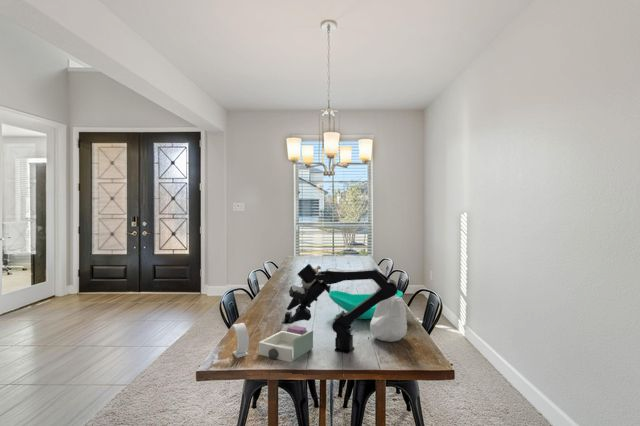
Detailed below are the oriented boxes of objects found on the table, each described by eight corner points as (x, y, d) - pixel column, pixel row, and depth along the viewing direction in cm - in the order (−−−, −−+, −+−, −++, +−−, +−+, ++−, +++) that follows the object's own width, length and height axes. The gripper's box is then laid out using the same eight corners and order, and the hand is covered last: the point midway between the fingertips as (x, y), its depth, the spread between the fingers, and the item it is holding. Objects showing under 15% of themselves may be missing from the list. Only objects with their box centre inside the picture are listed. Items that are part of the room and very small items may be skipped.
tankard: (312, 293, 262) (312, 270, 262) (297, 290, 269) (297, 268, 268) (328, 287, 279) (328, 266, 278) (313, 285, 286) (313, 264, 285)
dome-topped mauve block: (309, 338, 180) (309, 328, 179) (304, 341, 176) (304, 331, 176) (290, 333, 185) (290, 324, 185) (284, 336, 181) (284, 327, 181)
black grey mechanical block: (284, 318, 211) (284, 309, 211) (298, 318, 210) (298, 310, 210) (278, 325, 199) (278, 316, 199) (293, 326, 198) (293, 316, 198)
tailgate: (312, 348, 165) (313, 330, 165) (295, 359, 154) (295, 340, 153) (310, 347, 166) (310, 330, 165) (293, 358, 154) (293, 339, 154)
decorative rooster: (368, 331, 188) (368, 280, 187) (401, 331, 188) (401, 279, 187) (376, 352, 163) (376, 293, 162) (414, 352, 163) (414, 292, 162)
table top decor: (330, 326, 195) (330, 300, 195) (326, 310, 223) (326, 287, 222) (409, 325, 198) (410, 298, 197) (395, 309, 225) (395, 286, 225)
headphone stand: (243, 351, 164) (243, 322, 164) (249, 356, 159) (248, 326, 159) (232, 353, 162) (232, 324, 161) (238, 358, 157) (238, 328, 156)
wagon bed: (313, 347, 168) (313, 336, 168) (288, 363, 152) (288, 350, 152) (283, 340, 176) (283, 329, 176) (256, 355, 160) (256, 343, 160)
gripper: (297, 270, 173) (273, 293, 175) (302, 293, 156) (275, 319, 158) (315, 284, 177) (291, 307, 179) (322, 308, 160) (295, 333, 162)
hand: (288, 315), depth 170 cm, fingers open, 9 cm apart
